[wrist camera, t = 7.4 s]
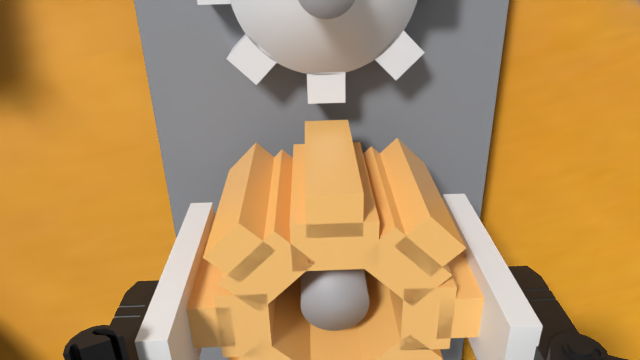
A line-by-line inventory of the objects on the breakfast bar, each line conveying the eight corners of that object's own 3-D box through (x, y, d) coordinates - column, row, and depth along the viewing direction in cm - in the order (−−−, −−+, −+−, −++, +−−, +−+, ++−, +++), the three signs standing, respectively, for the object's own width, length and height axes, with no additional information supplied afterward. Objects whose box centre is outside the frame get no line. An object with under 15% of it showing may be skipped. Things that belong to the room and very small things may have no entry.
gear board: (445, 399, 27) (488, 543, 20) (216, 408, 27) (188, 556, 20) (514, -176, 16) (654, -245, 9) (120, -166, 15) (-7, -229, 9)
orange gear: (431, 307, 20) (466, 417, 16) (229, 314, 20) (207, 427, 16) (449, 116, 17) (502, 189, 12) (202, 124, 16) (164, 200, 12)
